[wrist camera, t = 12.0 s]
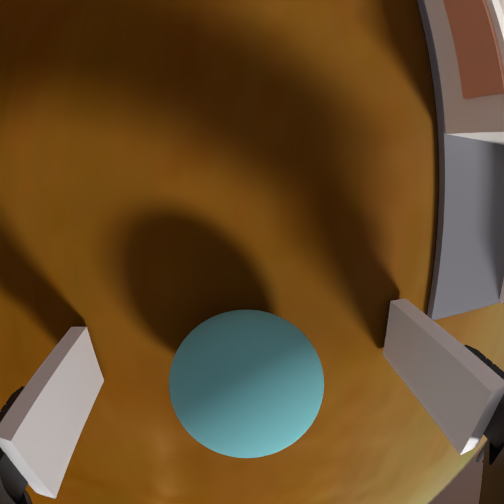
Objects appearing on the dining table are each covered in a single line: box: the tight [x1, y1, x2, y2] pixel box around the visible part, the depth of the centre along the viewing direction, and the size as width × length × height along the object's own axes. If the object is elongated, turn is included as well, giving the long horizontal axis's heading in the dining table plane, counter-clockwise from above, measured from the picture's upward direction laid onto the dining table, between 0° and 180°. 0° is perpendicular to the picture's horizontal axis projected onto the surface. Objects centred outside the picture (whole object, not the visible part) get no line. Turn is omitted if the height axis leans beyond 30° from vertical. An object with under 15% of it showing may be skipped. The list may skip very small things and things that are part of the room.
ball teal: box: [169, 310, 324, 458], centre depth 10 cm, size 5×5×5 cm
